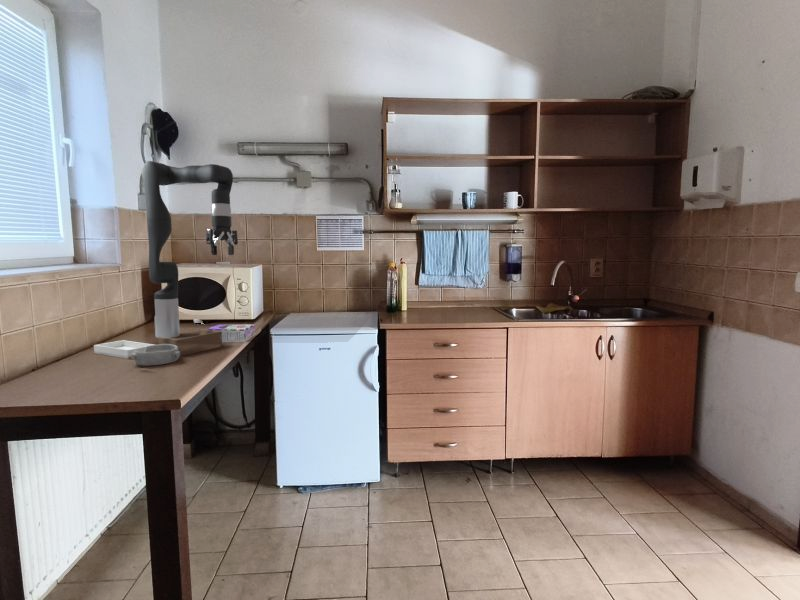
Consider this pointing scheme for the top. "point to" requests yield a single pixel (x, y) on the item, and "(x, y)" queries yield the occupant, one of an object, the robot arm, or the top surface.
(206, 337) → the bay
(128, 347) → the tray
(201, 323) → the mug
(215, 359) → the top surface
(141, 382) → the top surface
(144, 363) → the dish
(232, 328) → the candy box
